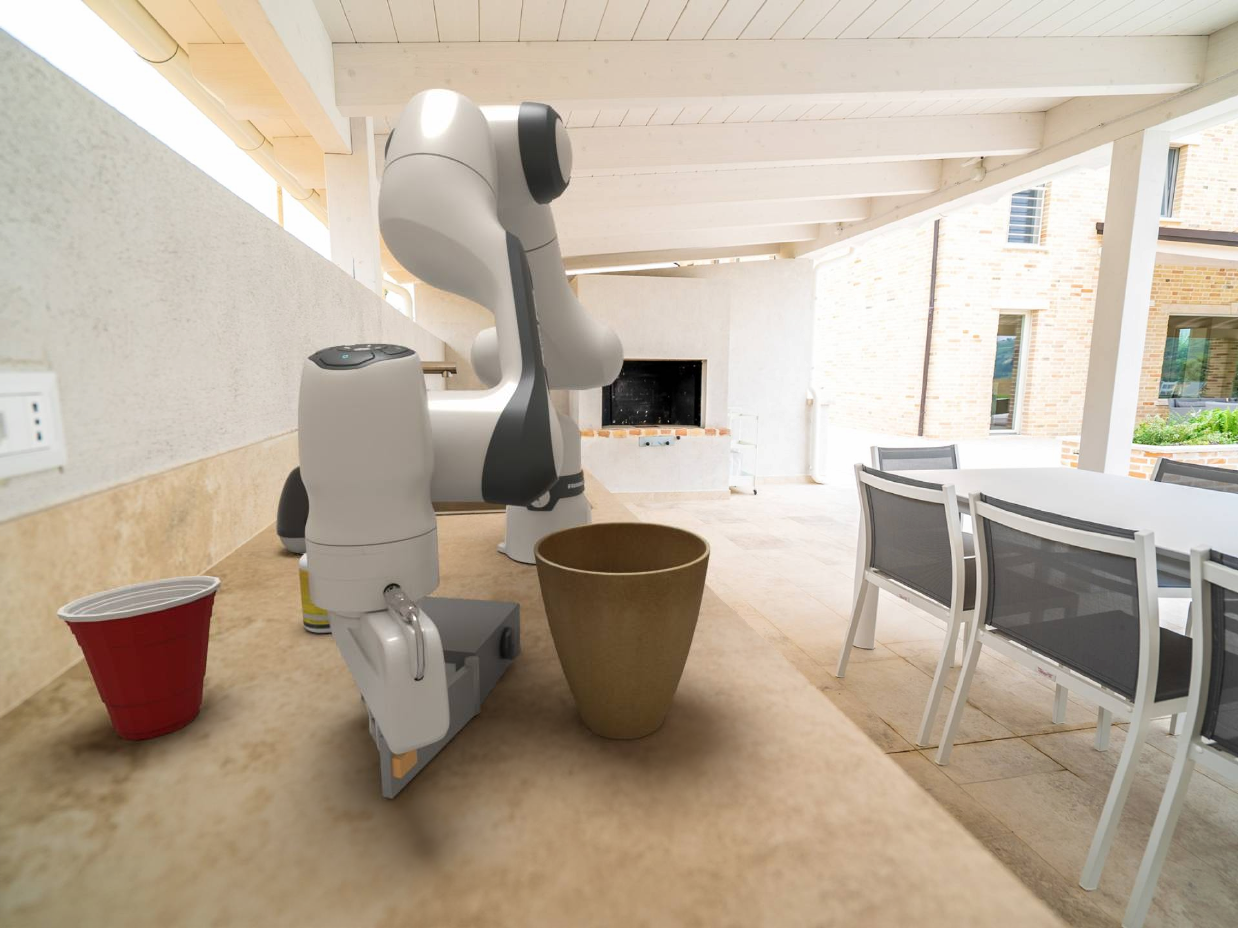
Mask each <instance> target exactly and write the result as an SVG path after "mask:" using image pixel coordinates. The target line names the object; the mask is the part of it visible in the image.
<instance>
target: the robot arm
mask: <svg viewBox="0 0 1238 928" xmlns="http://www.w3.org/2000/svg"><path fill="white" fill-rule="evenodd" d="M572 168H573V147H572V142H571V140H570V136H569V133H568V131H567V129H566V127H565V125H564V123H563V119H562V117H561V116H560V114H559V113H558V112H557V111H556V110H555V109H554V108H553V107H552V106H551V105H549V104H545V103H540V102H533V101H523V102H521V104H520V105H519V104H490V105H489V104H488V105H487V104H485V105H477V104H476V103H475V102H474V101H473V100H471V99H470V98H469V97H467V96H465V95H464V94H461V93H460V92H457V91H454V90H452V89H447V88H428V89H425V90H423V91H420V92H418V93H416V94H415V95H414V96H412V97H411V98H410V99H409V100H408V101H407V103H406V104H405V106H404V107H403V110H402V111H401V113H400V116H399V118H398V120H397V122H396V125H395V127H394V128H393V129H392V130H391V133H390V134H389V135H388V137H387V141H386V143H385V146H384V165H383V171H382V176H381V182H380V190H379V195H378V196H379V197H378V205H377V206H378V209H377V210H378V212H377V213H378V214H377V215H378V226H379V227H378V228H379V232H380V234H381V237H382V239H383V241H384V245H385V246H386V248H387V249H388V252H390V254H391V255H392V256H393V258H394V259H395V260H396V261H397V263H399V265H400V266H401V267H403V268H404V269H405V270H406V271H407V272H409V273H410V274H411V275H412V276H414V277H415V278H417V279H419V281H421V282H424V283H425V284H426V285H428V286H431V287H433V288H435V289H438V290H441V291H444V292H448V293H450V294H453V295H457V296H459V297H462V298H465V299H466V300H469V301H472V302H474V303H477V304H478V305H480V306H482V307H484V308H485V309H487V310H488V311H490V312H491V313H492V314H493V316H494V322H495V323H494V324H495V326H492V327H488V328H484V329H481V330H480V331H479V332H478V334H477V335H476V336H475V338H474V340H473V342H472V345H471V347H470V362H471V367H472V370H473V372H474V374H475V376H476V378H478V380H479V381H480V382H481V383H482V384H483V385H485V386H486V387H487V388H488V389H481V390H480V389H479V390H475V389H474V390H473V389H472V390H470V389H467V390H463V389H461V390H459V389H458V390H455V389H453V390H452V389H451V390H449V389H447V390H445V389H444V390H440V389H439V390H438V389H437V390H435V389H433V390H432V389H427V385H426V379H425V375H424V370H423V369H424V368H423V366H422V361H421V359H420V355H419V353H418V352H417V351H415V350H414V349H411V348H409V347H407V346H403V345H398V344H390V343H355V344H353V345H352V344H351V345H344V344H343V345H336V346H335V345H334V346H331V347H325V348H322V349H320V350H317V351H315V352H314V353H313V354H311V355H309V356H307V358H306V359H305V360H304V364H303V367H302V370H301V376H300V383H299V391H298V392H299V393H298V394H299V395H298V402H297V403H298V407H297V408H298V409H297V438H298V439H297V441H298V442H297V444H298V461H299V462H298V463H299V466H300V475H301V478H302V481H303V483H304V486H305V488H306V491H307V494H308V498H309V515H308V519H307V523H306V527H305V541H306V554H307V567H308V579H309V592H310V600H311V602H312V603H313V604H314V605H315V606H317V607H319V608H321V609H324V610H327V614H328V619H329V624H330V628H331V632H330V633H331V634H332V639H333V641H334V644H335V646H336V647H337V649H338V650H339V653H340V654H341V658H342V659H343V660H344V662H345V665H346V667H347V669H348V670H349V673H350V674H351V676H352V678H353V680H354V682H355V684H356V686H357V688H358V690H359V691H360V695H361V694H362V696H363V698H364V699H363V700H364V703H365V706H366V707H365V708H366V710H367V714H368V723H369V724H368V725H369V726H368V727H369V732H370V735H371V738H372V739H373V741H374V743H375V745H376V747H377V749H378V751H379V752H380V745H379V736H380V735H383V737H384V739H385V741H386V742H387V744H388V747H389V749H390V750H391V751H392V752H393V753H394V754H403V753H406V752H409V751H412V750H415V749H418V748H421V747H424V746H426V745H429V744H432V743H434V742H437V741H439V740H441V739H442V738H444V737H445V735H446V733H447V731H448V728H449V724H450V714H449V701H448V690H447V680H446V671H445V661H444V654H443V648H442V643H441V639H440V635H439V632H438V630H437V628H436V626H435V624H434V623H433V621H432V620H431V619H430V618H429V617H428V616H427V615H426V614H425V613H424V612H423V611H422V610H421V609H422V608H423V598H424V597H426V596H427V597H429V595H431V594H433V592H435V591H436V590H437V588H438V587H439V585H440V560H439V542H438V541H439V539H438V537H439V536H438V520H437V519H438V518H437V516H436V512H435V510H434V507H433V504H432V502H453V503H454V502H455V503H456V502H462V503H463V502H465V503H467V502H469V503H471V502H473V503H474V502H476V503H477V502H479V503H481V502H484V503H485V504H489V505H490V504H491V505H492V504H493V505H502V506H506V507H505V522H504V524H505V525H504V526H505V528H504V541H502V542H499V543H498V544H497V551H498V552H500V553H503V554H506V555H507V556H508V557H509V558H510V559H512V560H514V561H517V562H521V563H526V564H527V563H528V564H535V565H536V561H535V555H534V546H535V544H536V543H537V542H538V541H539V540H540V539H541V538H543V537H544V536H546V535H548V534H550V533H553V532H556V531H558V530H562V529H566V528H570V527H574V526H579V525H585V524H593V522H592V506H591V504H590V502H589V500H588V499H587V497H586V495H585V493H584V492H585V490H586V489H585V478H584V476H585V472H584V469H583V468H582V463H581V459H582V456H581V453H582V452H581V450H582V447H581V438H582V437H581V431H580V428H579V426H578V423H576V421H575V420H574V419H573V418H571V416H569V415H567V414H566V413H564V412H562V411H560V410H558V409H556V408H555V406H554V403H553V401H552V398H551V392H550V391H586V390H591V389H597V388H602V387H606V386H610V385H612V384H613V383H614V382H615V380H616V379H617V378H618V377H619V375H620V373H621V370H622V367H623V365H624V357H625V356H624V347H623V345H622V342H621V339H620V337H619V336H618V334H617V333H616V331H615V330H614V329H613V328H612V327H611V326H609V325H607V324H605V323H604V322H603V321H601V320H599V319H598V318H596V317H595V316H594V315H593V314H591V313H590V311H588V310H587V308H585V306H584V305H583V304H582V303H581V302H580V300H579V298H578V297H577V296H576V293H575V292H574V291H573V289H572V287H571V284H570V282H569V280H568V276H567V272H566V269H565V265H564V262H563V257H562V253H561V249H560V248H561V247H560V244H559V238H558V233H557V229H556V224H555V219H554V215H553V210H552V207H551V205H550V203H552V201H553V200H556V199H558V198H560V197H561V196H562V195H563V194H564V192H565V190H566V189H567V188H568V186H569V185H570V182H571V181H570V180H571V173H572Z"/></svg>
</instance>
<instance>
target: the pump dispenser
mask: <svg viewBox="0 0 1238 928" xmlns="http://www.w3.org/2000/svg"><path fill="white" fill-rule="evenodd" d="M308 515H309V498H308V494H307V491H306V488H305V486H304V483H303V481H302V478H301V475H300V465H298V466H296V467H295V468H293V469H292V470H291V472H289V474H288V476H287V477H286V479H285V481H284V485H283V487H282V490H281V493H280V495H279V501H278V505H277V513H276V525H275V527H276V535H277V536H278V537H279V540H280V542H281V544H282V545H283V546H284V547H285V548H286V549H287V550H288V551H290V552H292V553H295V554H299V553H306V543H305V527H306V523H307V519H308Z"/></svg>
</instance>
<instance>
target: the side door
mask: <svg viewBox="0 0 1238 928" xmlns="http://www.w3.org/2000/svg"><path fill="white" fill-rule="evenodd" d="M447 690H448V701H449V714H450V724H449V728H448V731H447V733H446V735H445V737H444V738H442V739H441V740H439V741H437V742H434V743H432V744H429V745H426V746H424V747H421V748H418V749H415V750H412V751H409V752H406V753H403V754H394V753H393V752H392V751H391V750H390V749H389V747H388V744H387V742H386V741H385V739H384V737H383V735H380V736H379V745H380V751H379V756H380V757H379V759H380V773H381V774H380V775H381V787H382V788H381V790H382V793H381V794H382V797H384V798H388V799H394V797H395V796H397V795H398V793H400V792H401V790H403V789H404V788H405V786H406V785H407V784H408V783H409V782H410V781H412V780H413V778H414V777H415V776H416V775H418V773H419V772H420V771H421V770H422V769H423V768H425V766H426V765H427V764H428V763H429V762H430V761H431V760H432V759H433V758H434V757H435V756H436V755H438V753H439V752H440V751H442V749H443V748H444V747H445V746H446V745H447V744H448V743H449V742H450V741H451V740H452V739H453V738H454V737H455V736H456V735H457V734H458V733H459V732H460V731H461V730H462V729H463V728H464V727H465V726H466V725H467V723H469V722H470V721H471V720H472V718H473V717H474V716H477V715H479V714H480V713H481V705H480V684H479V658H478V657H477V656H468V657H466V658H465V665H464V666H463V667H462V668H461V669H459V670H458V671H457V672H456V673H455V674H453V675H452V676H451V677H450V678H449V679H447Z"/></svg>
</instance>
